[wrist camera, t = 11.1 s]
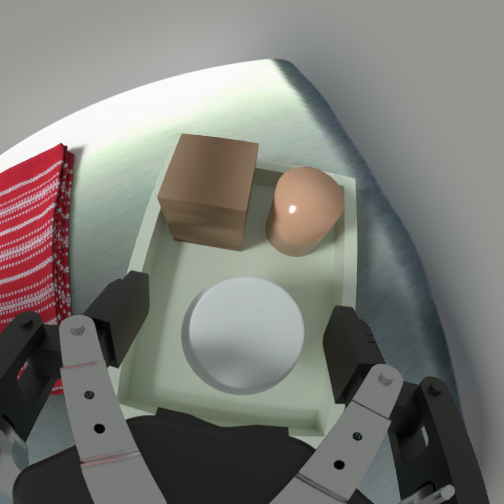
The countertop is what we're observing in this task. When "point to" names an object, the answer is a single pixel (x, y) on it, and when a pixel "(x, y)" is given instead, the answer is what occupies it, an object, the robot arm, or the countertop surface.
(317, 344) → the tray
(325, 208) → the peach rounded cylinder
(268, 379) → the supplement bottle
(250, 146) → the walnut block
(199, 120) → the countertop surface
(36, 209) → the dish towel
